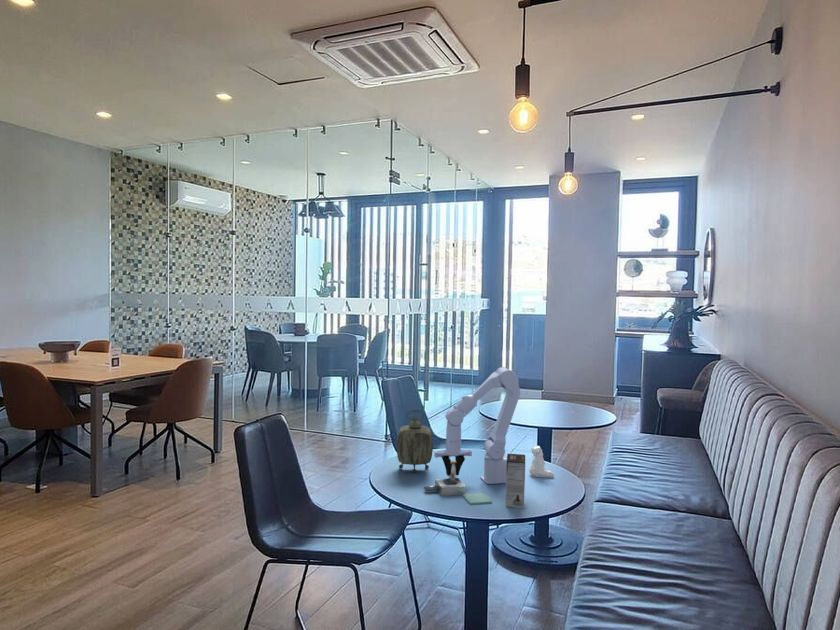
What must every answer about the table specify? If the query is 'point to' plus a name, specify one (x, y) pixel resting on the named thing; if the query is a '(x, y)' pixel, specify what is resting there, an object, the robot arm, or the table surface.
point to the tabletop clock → (414, 443)
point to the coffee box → (515, 480)
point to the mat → (477, 498)
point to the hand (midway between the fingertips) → (452, 474)
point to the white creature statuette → (539, 464)
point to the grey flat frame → (447, 487)
